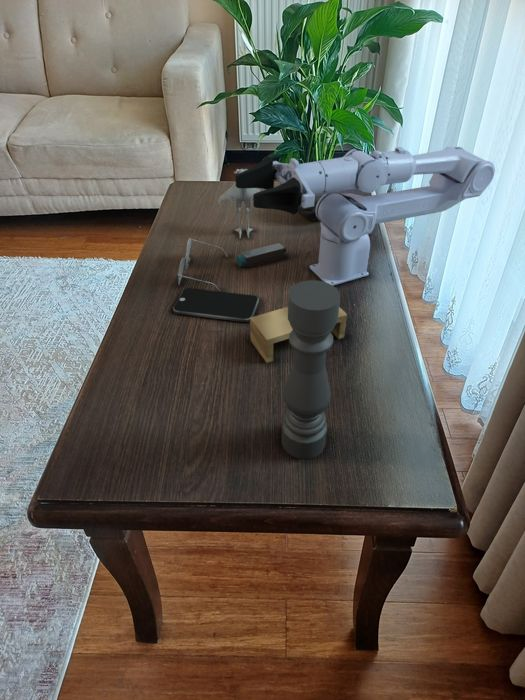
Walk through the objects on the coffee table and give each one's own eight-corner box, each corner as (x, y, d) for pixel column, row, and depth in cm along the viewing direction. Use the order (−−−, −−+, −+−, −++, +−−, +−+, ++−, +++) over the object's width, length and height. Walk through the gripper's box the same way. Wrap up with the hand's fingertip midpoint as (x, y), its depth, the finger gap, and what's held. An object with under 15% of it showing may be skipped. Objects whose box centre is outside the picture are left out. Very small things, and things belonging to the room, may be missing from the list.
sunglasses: (189, 254, 112) (190, 233, 109) (227, 261, 112) (230, 240, 109) (176, 291, 101) (177, 269, 98) (218, 298, 102) (221, 277, 98)
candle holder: (279, 425, 76) (282, 280, 59) (321, 422, 76) (336, 277, 59) (284, 460, 71) (289, 313, 54) (329, 457, 71) (348, 310, 55)
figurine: (268, 229, 120) (268, 164, 110) (269, 237, 117) (269, 172, 107) (219, 230, 120) (215, 166, 110) (219, 239, 117) (214, 173, 107)
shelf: (325, 317, 95) (327, 294, 92) (344, 337, 90) (347, 314, 87) (250, 340, 90) (249, 317, 87) (266, 363, 86) (266, 339, 82)
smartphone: (184, 287, 101) (259, 295, 99) (184, 290, 101) (260, 298, 99) (170, 310, 95) (250, 320, 93) (171, 313, 96) (250, 323, 93)
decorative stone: (331, 207, 128) (335, 167, 121) (336, 227, 120) (340, 185, 114) (290, 208, 128) (292, 168, 121) (293, 227, 120) (294, 186, 114)
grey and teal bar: (282, 251, 112) (282, 241, 111) (287, 257, 111) (288, 247, 109) (236, 263, 109) (236, 253, 107) (241, 269, 107) (240, 259, 106)
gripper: (299, 140, 93) (228, 150, 88) (341, 172, 83) (263, 186, 79) (297, 178, 97) (229, 190, 93) (335, 213, 88) (262, 228, 83)
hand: (244, 191), depth 86 cm, fingers open, 7 cm apart
